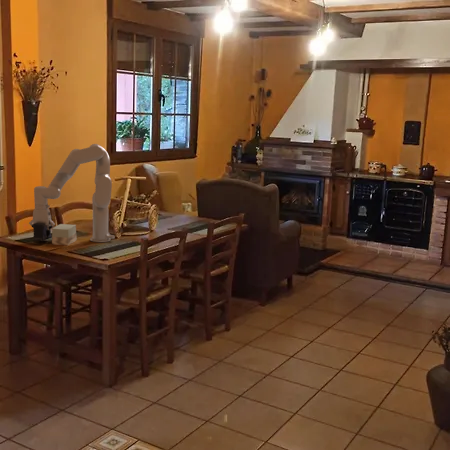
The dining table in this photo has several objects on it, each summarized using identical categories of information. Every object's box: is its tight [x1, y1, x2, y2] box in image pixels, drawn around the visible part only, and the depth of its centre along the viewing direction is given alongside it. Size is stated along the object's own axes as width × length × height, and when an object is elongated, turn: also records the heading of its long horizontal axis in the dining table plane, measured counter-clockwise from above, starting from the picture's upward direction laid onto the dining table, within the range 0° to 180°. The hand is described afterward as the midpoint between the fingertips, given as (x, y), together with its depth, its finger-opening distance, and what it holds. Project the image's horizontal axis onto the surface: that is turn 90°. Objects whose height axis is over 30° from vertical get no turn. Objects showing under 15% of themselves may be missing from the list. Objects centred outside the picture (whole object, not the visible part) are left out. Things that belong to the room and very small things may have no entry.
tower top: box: [51, 223, 77, 238], centre depth 361 cm, size 10×14×5 cm
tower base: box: [51, 232, 78, 246], centre depth 362 cm, size 10×14×5 cm
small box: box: [32, 223, 52, 242], centre depth 359 cm, size 11×6×10 cm, turn 169°
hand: (42, 235), depth 360 cm, fingers closed on small box, 6 cm apart
